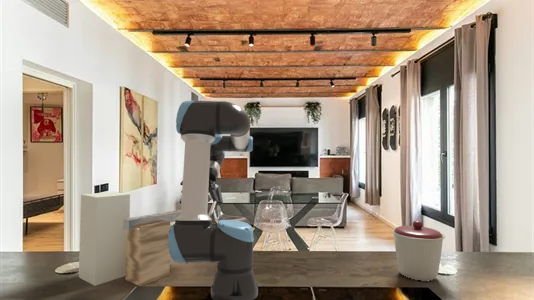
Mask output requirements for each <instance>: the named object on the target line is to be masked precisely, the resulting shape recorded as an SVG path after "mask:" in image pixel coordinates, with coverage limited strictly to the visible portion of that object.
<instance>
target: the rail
mask: <svg viewBox="0 0 534 300" xmlns="http://www.w3.org/2000/svg"><path fill="white" fill-rule="evenodd" d="M180 214H181V209H177V210H171V211H165V212H160V213H152V214H146V215H139V216H135V217H133V216H132V217H130V218H127V219H123V229H124V230H128V231H130V230H135V229H139V226H144V225H149V224H154V223H159V222H165V221H170V224H171V223H175V221H176V218H177V217H178V216H179V215H180Z"/></svg>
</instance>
